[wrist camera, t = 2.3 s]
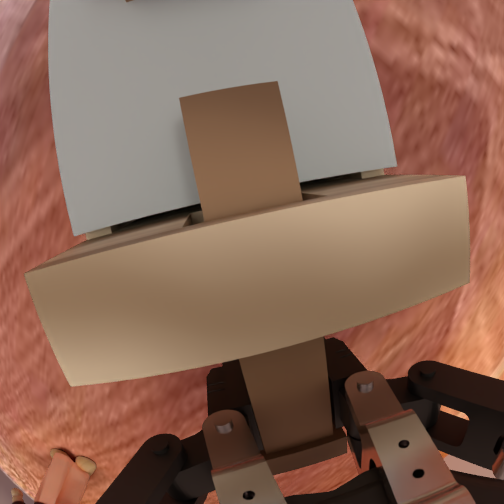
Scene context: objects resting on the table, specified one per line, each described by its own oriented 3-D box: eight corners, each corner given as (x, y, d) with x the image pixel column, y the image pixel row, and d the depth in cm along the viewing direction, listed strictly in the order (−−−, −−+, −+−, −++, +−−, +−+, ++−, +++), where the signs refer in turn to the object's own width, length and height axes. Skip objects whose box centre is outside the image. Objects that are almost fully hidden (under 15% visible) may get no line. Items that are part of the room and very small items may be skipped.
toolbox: (101, 20, 14) (29, -92, 3) (273, -12, 15) (332, -135, 4) (144, 269, 17) (70, 386, 6) (329, 227, 18) (469, 282, 7)
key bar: (171, 119, 9) (160, 98, 6) (275, 99, 9) (296, 75, 7) (252, 435, 11) (261, 477, 9) (326, 415, 12) (347, 452, 9)
